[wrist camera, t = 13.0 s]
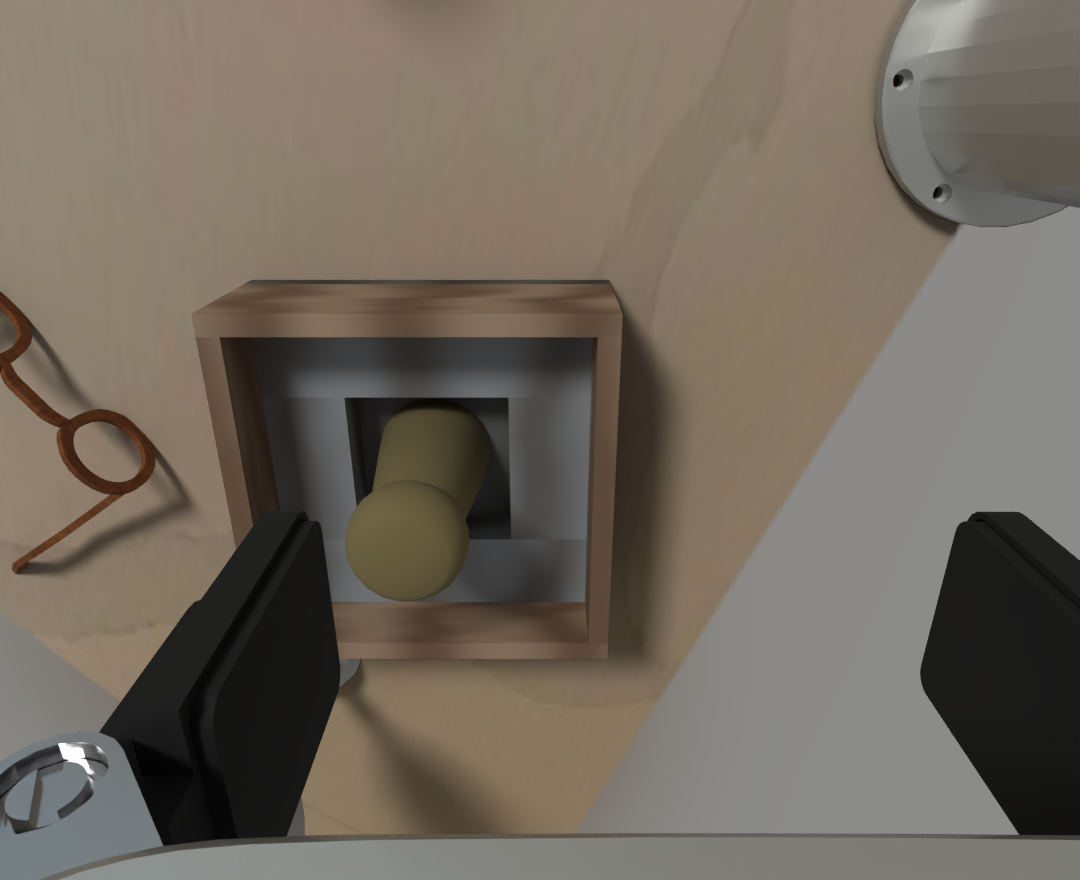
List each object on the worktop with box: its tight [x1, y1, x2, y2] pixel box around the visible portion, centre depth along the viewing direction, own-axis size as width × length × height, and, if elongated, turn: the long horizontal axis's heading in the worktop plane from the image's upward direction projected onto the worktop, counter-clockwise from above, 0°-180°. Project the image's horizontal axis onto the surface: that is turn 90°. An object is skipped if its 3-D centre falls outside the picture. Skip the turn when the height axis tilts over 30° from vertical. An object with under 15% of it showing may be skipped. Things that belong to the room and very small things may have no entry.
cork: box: [345, 399, 492, 601], centre depth 35 cm, size 6×6×11 cm
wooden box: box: [191, 280, 623, 659], centre depth 38 cm, size 18×18×7 cm
